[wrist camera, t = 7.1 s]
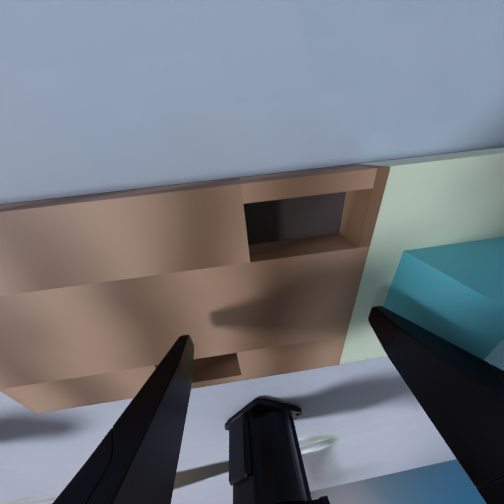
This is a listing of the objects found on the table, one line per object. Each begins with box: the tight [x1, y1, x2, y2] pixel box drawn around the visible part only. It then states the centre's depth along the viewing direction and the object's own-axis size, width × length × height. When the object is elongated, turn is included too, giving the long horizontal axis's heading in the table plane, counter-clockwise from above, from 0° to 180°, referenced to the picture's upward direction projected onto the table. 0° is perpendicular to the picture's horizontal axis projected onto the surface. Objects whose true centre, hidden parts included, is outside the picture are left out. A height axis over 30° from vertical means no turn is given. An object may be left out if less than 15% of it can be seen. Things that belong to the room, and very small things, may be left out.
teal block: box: [383, 237, 504, 371], centre depth 8 cm, size 6×5×4 cm
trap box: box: [0, 164, 390, 413], centre depth 9 cm, size 31×13×4 cm, turn 95°
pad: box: [339, 147, 504, 364], centre depth 11 cm, size 9×13×2 cm
